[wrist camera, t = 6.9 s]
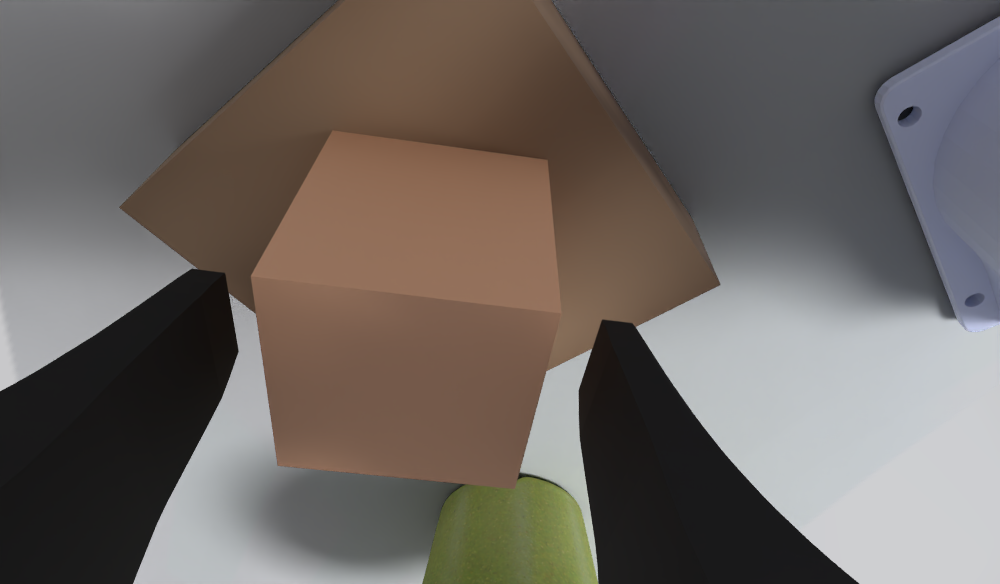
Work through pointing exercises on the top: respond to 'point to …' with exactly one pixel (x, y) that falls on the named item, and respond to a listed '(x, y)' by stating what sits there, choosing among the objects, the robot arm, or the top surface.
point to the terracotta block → (409, 311)
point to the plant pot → (511, 537)
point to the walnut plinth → (449, 122)
